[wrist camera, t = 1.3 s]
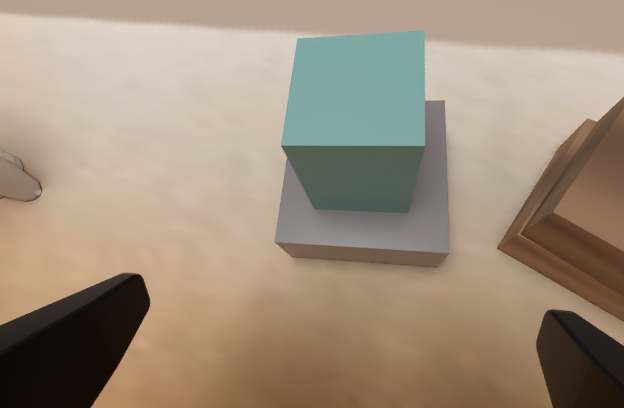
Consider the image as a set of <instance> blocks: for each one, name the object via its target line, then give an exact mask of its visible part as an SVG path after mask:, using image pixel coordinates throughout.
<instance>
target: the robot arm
mask: <svg viewBox="0 0 624 408" xmlns="http://www.w3.org/2000/svg"><path fill="white" fill-rule="evenodd" d="M149 307H150V297H149V294H148V291H147V288H146V285H145V282H144V279H143V277H142V276H141V275H140V274H136V273H122V274H119V275H117V276H115V277H112V278H110V279H108V280H105V281H103V282H101V283H98V284H96V285H94V286H91V287H89V288H87V289H84V290H82V291H80V292H77V293H75V294H73V295H70V296H68V297H66V298H63V299H61V300H59V301H56V302H54V303H52V304H49V305H47V306H45V307H42V308H40V309H37V310H35V311H33V312H30V313H28V314H26V315H23V316H21V317H19V318H16V319H14V320H12V321H9V322H7V323H5V324H2V325H0V408H91V406H92V405H93V403H94V402H95V400H96V399H97V397H98V396H99V394H100V393H101V391H102V390H103V388H104V387H105V385H106V384H107V382H108V381H109V379H110V378H111V376H112V375H113V373H114V371H115V370H116V368H117V367H118V365H119V363H120V361H121V360H122V358H123V356H124V354H125V352H126V351H127V349H128V347H129V345H130V343H131V341H132V339H133V338H134V336H135V334H136V332H137V330H138V328H139V327H140V325H141V323H142V321H143V319H144V317H145V316H146V314H147V312H148V310H149ZM536 348H537V353H538V357H539V360H540V364H541V367H542V371H543V374H544V378H545V381H546V385H547V388H548V391H549V395H550V398H551V402H552V405H553V408H624V346H623V345H622V344H620V343H619V342H617V341H616V340H614V339H613V338H611V337H610V336H608V335H607V334H605V333H604V332H602V331H601V330H599V329H598V328H597V327H595V326H594V325H592V324H591V323H589V322H588V321H586V320H585V319H583V318H582V317H580V316H579V315H577V314H576V313H574V312H571V311H564V310H548V311H547V312H546V313H545V315H544V317H543V321H542V324H541V327H540V330H539V334H538V337H537V341H536Z"/></svg>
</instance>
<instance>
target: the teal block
mask: <svg viewBox="0 0 624 408" xmlns="http://www.w3.org/2000/svg"><path fill="white" fill-rule="evenodd" d="M281 146H282V148H283V150H284V152H285V154H286V156H287V158H288V160H289V162H290V164H291V165H292V167H293V169H294V171H295V173H296V175H297V177H298V179H299V181H300V183H301V185H302V187H303V188H304V190H305V192H306V194H307V196H308V198H309V200H310V202H311V204H312V206H313V208H314V209H323V210H346V211H370V212H394V213H408V210H409V206H410V202H411V198H412V195H413V191H414V187H415V183H416V179H417V175H418V171H419V168H420V164H421V160H422V156H423V152H424V148H425V47H424V31H410V32H394V33H379V34H363V35H348V36H332V37H316V38H301V39H297V45H296V52H295V58H294V65H293V71H292V78H291V84H290V91H289V97H288V104H287V110H286V117H285V123H284V130H283V136H282V143H281Z"/></svg>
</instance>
